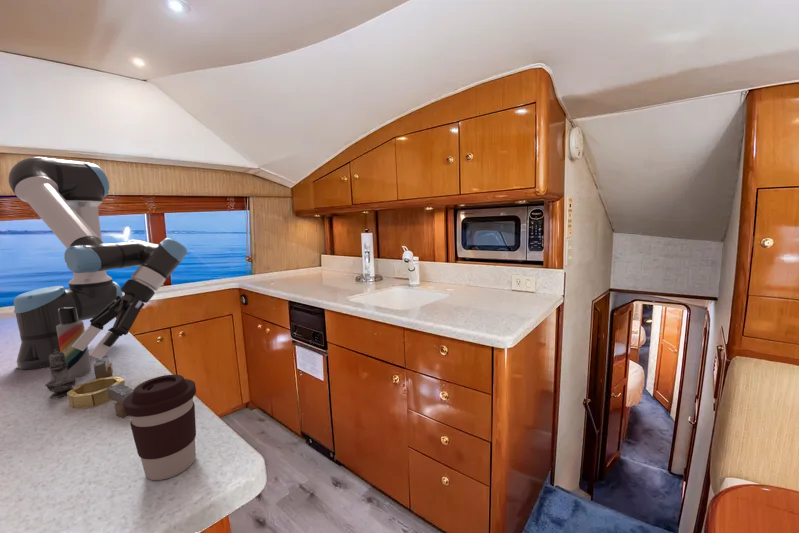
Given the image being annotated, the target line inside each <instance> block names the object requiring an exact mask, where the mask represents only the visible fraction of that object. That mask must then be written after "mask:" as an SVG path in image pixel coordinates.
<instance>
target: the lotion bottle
mask: <svg viewBox="0 0 799 533" xmlns="http://www.w3.org/2000/svg"><path fill="white" fill-rule="evenodd" d="M58 314H59V319H60V324H59V325H57V326H56V329H57V335H58V341H59V346H60V351H61V352H63V353H64V355H65V360H66V363H67V364H68V366H67V369H68V373H69V374H70V375H71V376H77V378H80V377H83V376H85V375H88V374H90V373H91V372H92V364H91V359H90V357H91V356H90V355H89V354H90V352H89V345H88V346H87V347H86V348H85V349H84V351H81V350H79V349H76V348H74V347H72V345H73V344H74V343H75V342H76V341H77V340H78V338H79V337H80V336H81V335H82V334H83V333H84V332H85V331H86V329H85V325H84V320H82V321H78V315H77V309H76V308H75V307H64V308H59V310H58Z"/></svg>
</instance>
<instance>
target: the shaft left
mask: <svg viewBox="0 0 799 533" xmlns="http://www.w3.org/2000/svg"><path fill="white" fill-rule="evenodd" d="M95 359H96V360H95V361H94V364H93V372H94V376H95V377H94V378H95V380H96V379H100V378H106V377H114V376H113V375H114V368H113V363H112V362H110V359H109V355H108V354H106V355H104V357H103V358H102V359H101V360H100V359H98V358H95Z"/></svg>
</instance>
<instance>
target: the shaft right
mask: <svg viewBox="0 0 799 533" xmlns="http://www.w3.org/2000/svg"><path fill="white" fill-rule="evenodd" d="M134 389H135V388H131V387H130V386H127V385H126V384H125V385H123V384H120V383H119V384H116V385H113V386H111V387H108V388H107V391H108V397H109V398H110V399H112V400H111V401H115V403H113V404H114V408H115V414H116V416H117V417H119V418H121V419H125V418H127V417H129V416H128V415H126V414H125V413H124V409H123V401H124V400H125V398H126V397H128V396H129V395H130V394H132V393H133V391H134Z"/></svg>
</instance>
